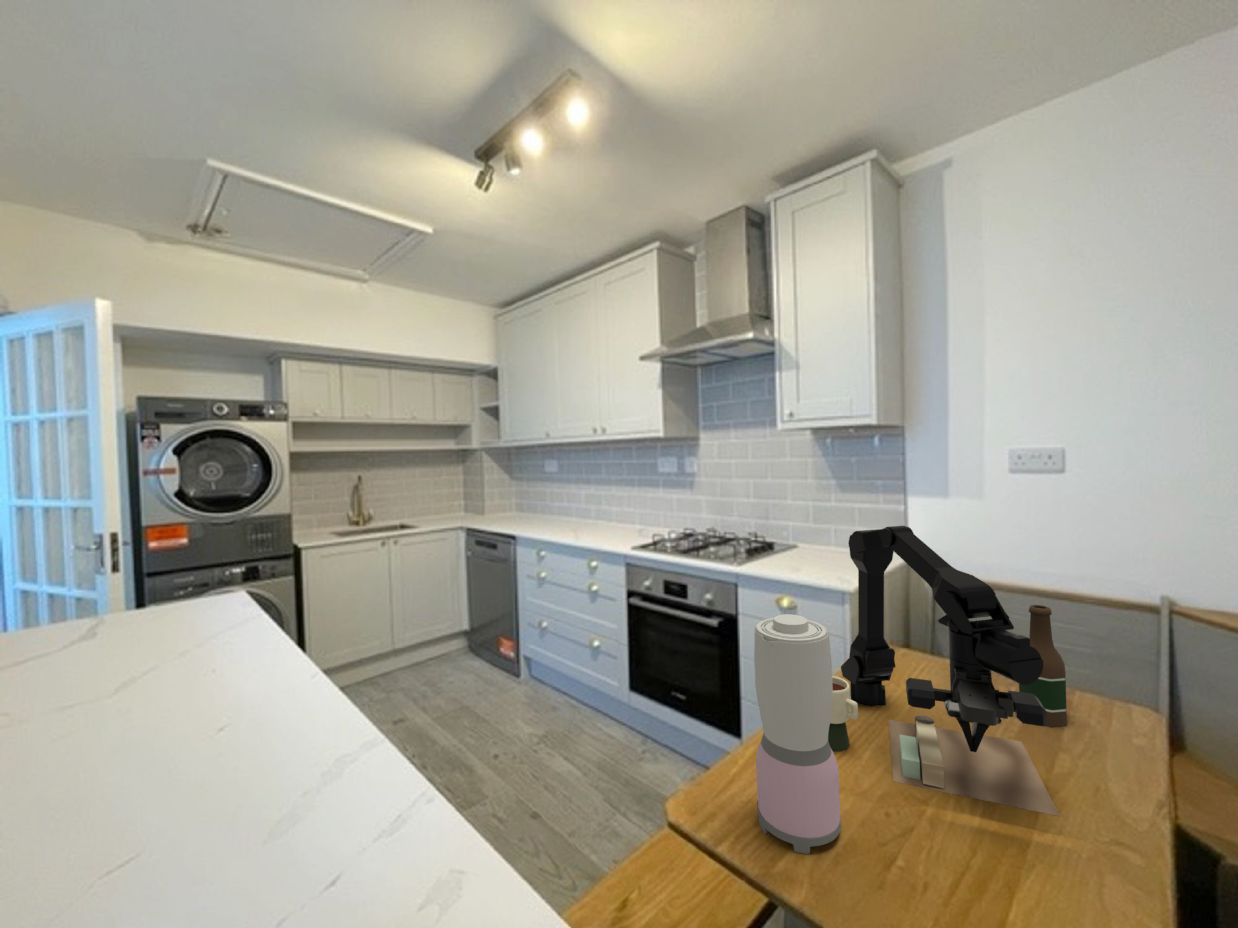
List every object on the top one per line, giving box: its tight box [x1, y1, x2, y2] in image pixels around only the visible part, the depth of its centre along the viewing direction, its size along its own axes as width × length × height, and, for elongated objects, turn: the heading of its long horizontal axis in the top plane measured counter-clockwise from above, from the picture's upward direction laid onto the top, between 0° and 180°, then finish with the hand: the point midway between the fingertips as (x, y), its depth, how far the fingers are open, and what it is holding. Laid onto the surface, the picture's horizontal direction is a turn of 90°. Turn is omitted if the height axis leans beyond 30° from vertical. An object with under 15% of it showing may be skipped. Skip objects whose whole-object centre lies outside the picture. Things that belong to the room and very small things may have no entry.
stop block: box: [899, 734, 920, 780], centre depth 90 cm, size 3×8×3 cm, turn 154°
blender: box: [753, 613, 842, 855], centre depth 80 cm, size 16×12×32 cm
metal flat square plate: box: [887, 719, 1061, 817], centre depth 91 cm, size 22×21×2 cm
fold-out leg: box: [914, 715, 944, 788], centre depth 91 cm, size 17×3×4 cm, turn 154°
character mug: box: [828, 675, 859, 753], centre depth 98 cm, size 11×7×13 cm, turn 35°
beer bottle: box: [1018, 604, 1068, 729], centre depth 103 cm, size 8×8×24 cm
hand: (972, 750), depth 85 cm, fingers closed
